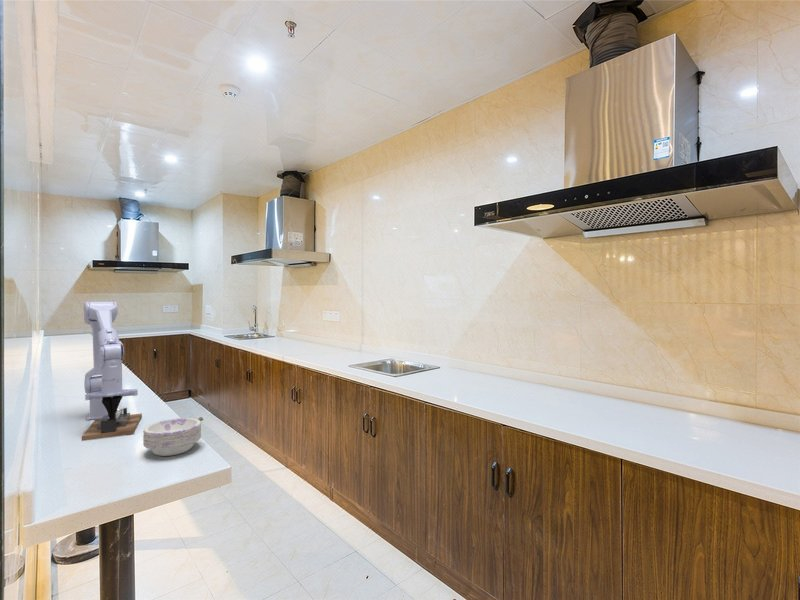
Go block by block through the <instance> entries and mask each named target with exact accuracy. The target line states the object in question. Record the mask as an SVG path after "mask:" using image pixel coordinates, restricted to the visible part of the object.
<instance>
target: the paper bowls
mask: <svg viewBox="0 0 800 600" xmlns="http://www.w3.org/2000/svg"><path fill="white" fill-rule="evenodd" d="M198 419H199V418H191V417H179V418H177V417H176V418H170V419H164V420H161V421H160V420H159V421H156V422H153V423H151V424H148V425H147V426H145V427H144V428H143V437H142V439H143V440H142V441H143V444H142V445H143V447H144V448H146V449H150V450H151V452H152V453H153V454H154V455H156V456H159V457H171V456H177V455H181V454H183V453H186V452H187V451H189V450H190V449H192V448H193V445H194V444H195V443H196V442H198V441H199V440H200V439H201V437H202V422H201V421H200V420H198Z"/></svg>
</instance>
